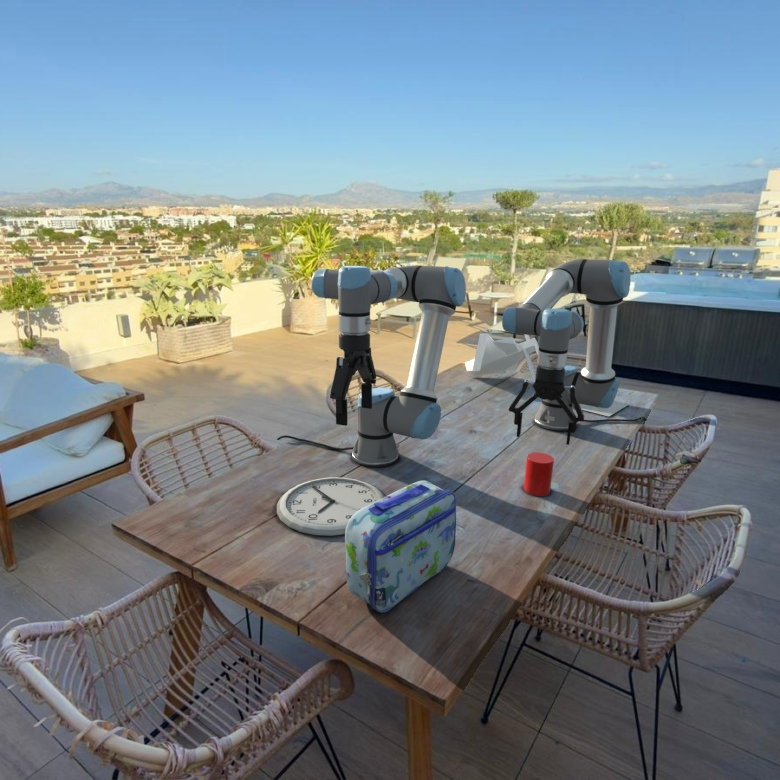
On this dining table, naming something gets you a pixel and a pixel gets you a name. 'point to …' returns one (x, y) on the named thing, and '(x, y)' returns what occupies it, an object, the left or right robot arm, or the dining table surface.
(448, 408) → the dining table surface
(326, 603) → the dining table surface
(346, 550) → the lunch box
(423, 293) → the left robot arm
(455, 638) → the dining table surface
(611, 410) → the invitation card
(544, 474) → the red cylinder
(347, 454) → the dining table surface
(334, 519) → the wall clock
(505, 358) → the white plastic object
